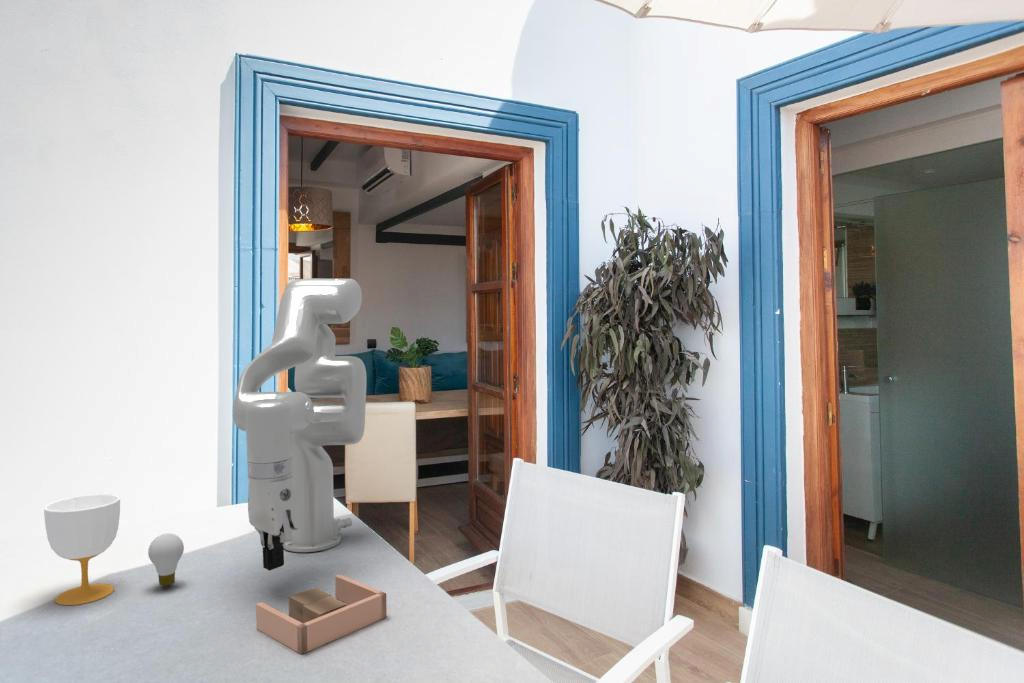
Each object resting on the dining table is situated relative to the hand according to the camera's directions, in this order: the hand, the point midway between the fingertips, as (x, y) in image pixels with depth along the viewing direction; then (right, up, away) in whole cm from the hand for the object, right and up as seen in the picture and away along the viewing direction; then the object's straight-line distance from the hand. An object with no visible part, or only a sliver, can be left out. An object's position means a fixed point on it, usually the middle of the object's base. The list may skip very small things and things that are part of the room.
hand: (273, 566), depth 119 cm
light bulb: (-21, -5, +4) cm, 22 cm away
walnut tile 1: (+9, -5, -9) cm, 14 cm away
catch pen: (+12, -5, -12) cm, 18 cm away
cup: (-35, -6, 0) cm, 35 cm away
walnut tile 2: (+13, -5, -12) cm, 19 cm away
